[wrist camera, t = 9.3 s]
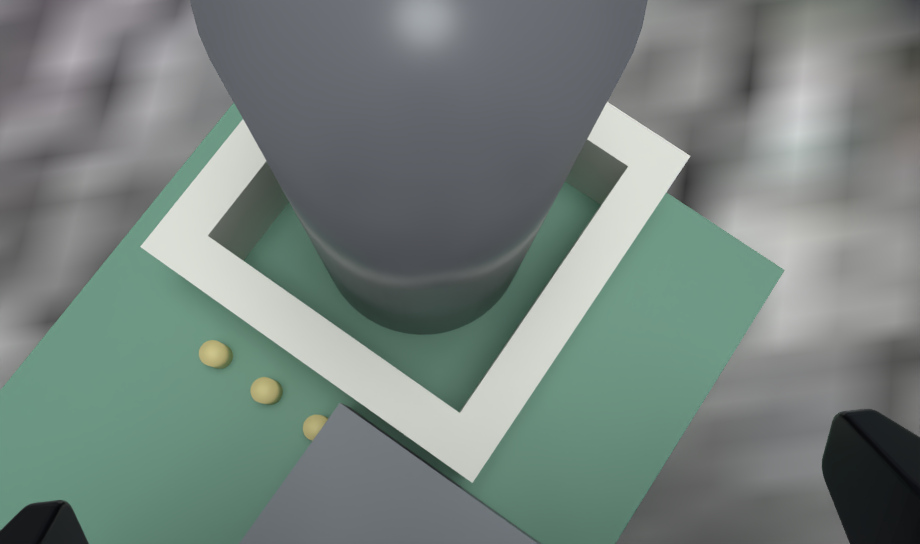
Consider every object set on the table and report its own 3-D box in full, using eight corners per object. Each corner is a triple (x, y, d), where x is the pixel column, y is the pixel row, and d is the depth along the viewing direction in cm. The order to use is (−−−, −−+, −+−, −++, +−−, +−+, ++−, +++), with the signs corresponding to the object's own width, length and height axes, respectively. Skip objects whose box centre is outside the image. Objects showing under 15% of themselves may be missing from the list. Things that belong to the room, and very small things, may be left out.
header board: (419, 835, 19) (416, 943, 15) (-46, 481, 20) (-167, 491, 16) (765, 279, 22) (842, 242, 18) (341, -1, 23) (322, -96, 19)
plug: (533, 324, 20) (681, 160, 9) (330, 344, 20) (197, 202, 8) (506, 108, 22) (606, -297, 10) (314, 124, 21) (177, -274, 9)
